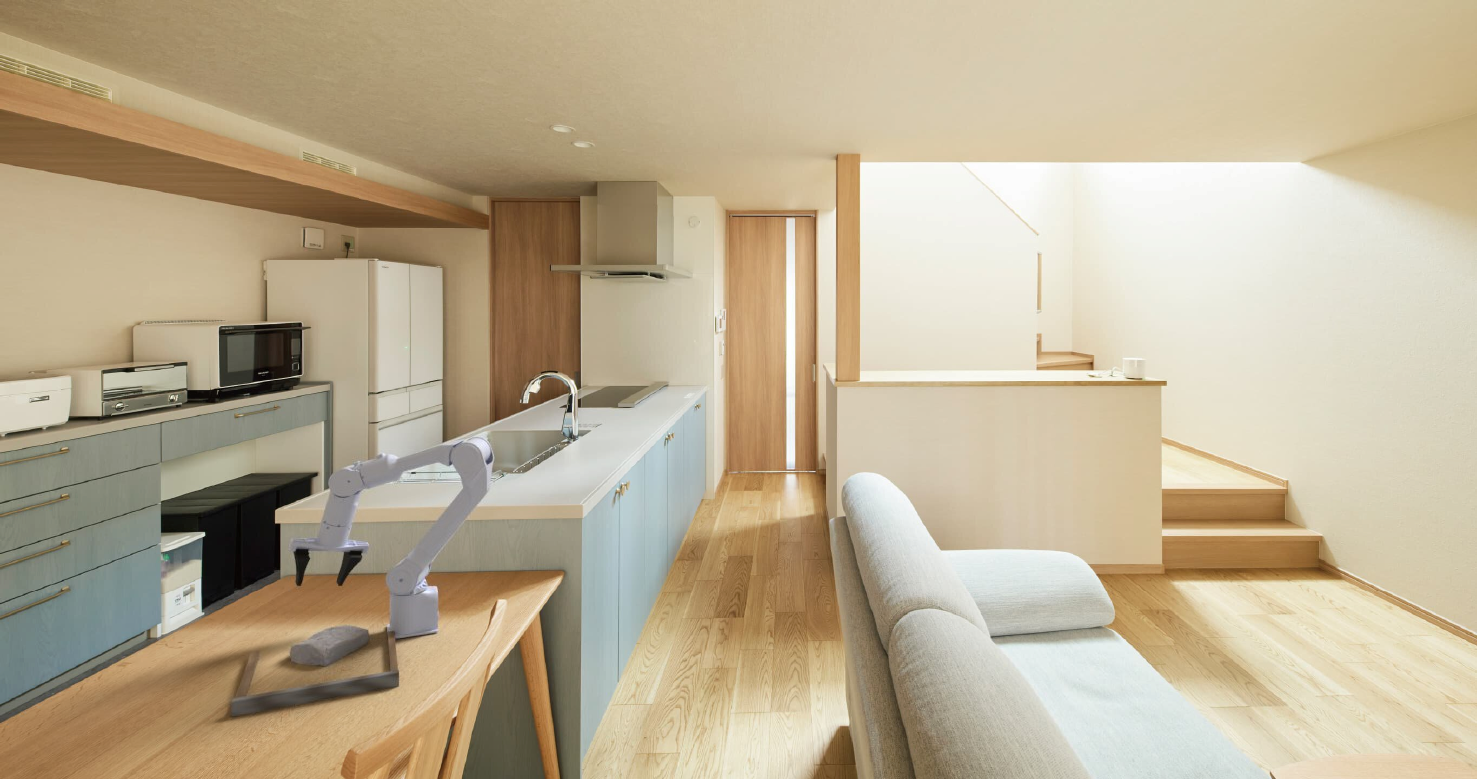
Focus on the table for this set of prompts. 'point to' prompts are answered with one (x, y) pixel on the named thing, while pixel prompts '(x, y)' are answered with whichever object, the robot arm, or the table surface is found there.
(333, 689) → the u-shaped frame
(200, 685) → the table surface
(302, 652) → the stone block
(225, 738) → the table surface
